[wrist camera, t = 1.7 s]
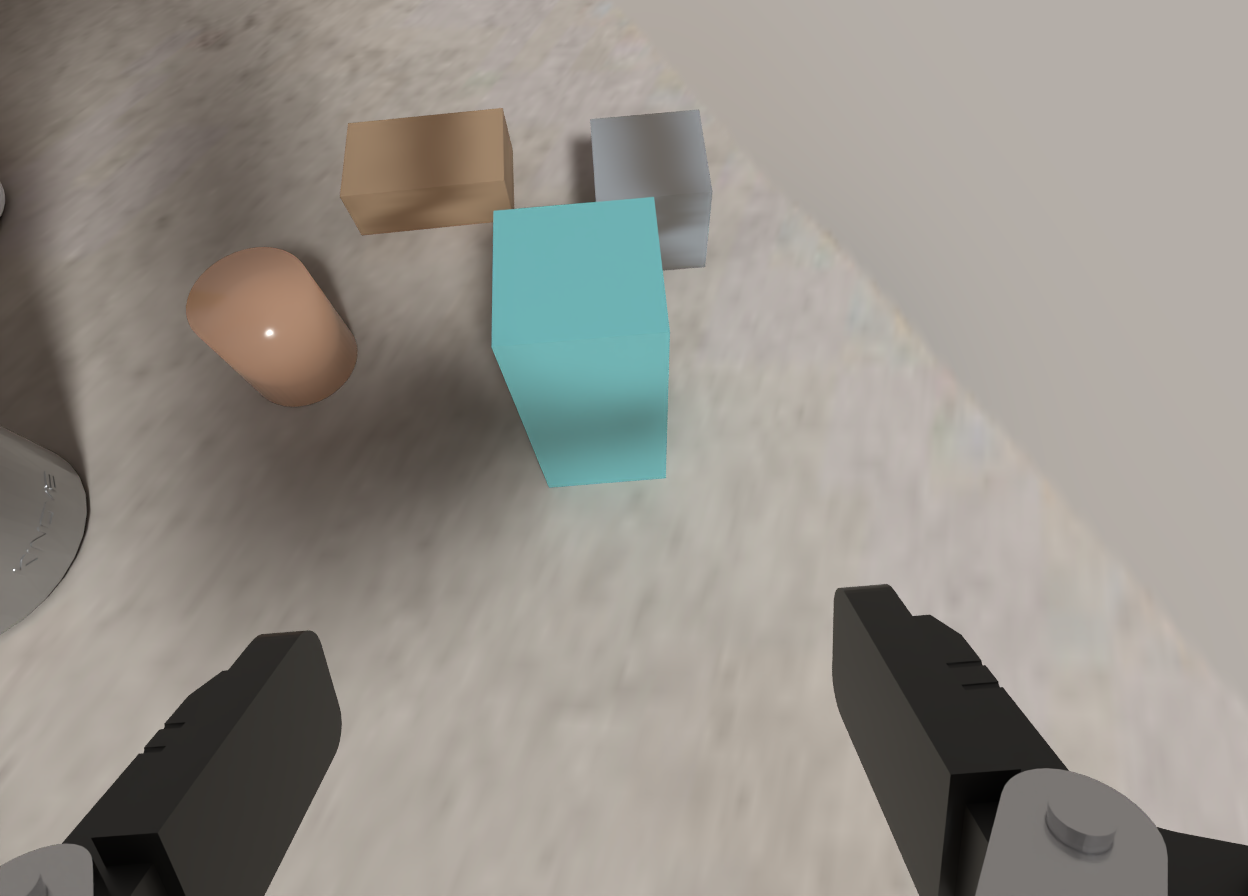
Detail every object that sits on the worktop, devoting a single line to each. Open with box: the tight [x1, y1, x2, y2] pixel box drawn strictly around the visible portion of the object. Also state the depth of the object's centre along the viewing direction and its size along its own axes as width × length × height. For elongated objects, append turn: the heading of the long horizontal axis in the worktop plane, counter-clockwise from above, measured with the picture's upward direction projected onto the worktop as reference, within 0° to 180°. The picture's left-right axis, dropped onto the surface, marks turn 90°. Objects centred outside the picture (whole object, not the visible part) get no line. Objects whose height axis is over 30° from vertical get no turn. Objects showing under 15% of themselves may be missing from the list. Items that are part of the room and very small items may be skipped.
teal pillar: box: [492, 197, 670, 488], centre depth 25 cm, size 5×5×11 cm
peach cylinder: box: [186, 247, 357, 407], centre depth 30 cm, size 5×5×5 cm
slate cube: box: [590, 110, 712, 270], centre depth 32 cm, size 5×5×5 cm
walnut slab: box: [340, 108, 514, 235], centre depth 35 cm, size 8×5×3 cm, turn 95°
